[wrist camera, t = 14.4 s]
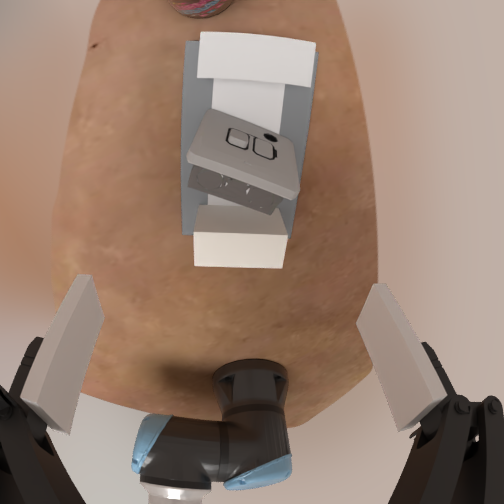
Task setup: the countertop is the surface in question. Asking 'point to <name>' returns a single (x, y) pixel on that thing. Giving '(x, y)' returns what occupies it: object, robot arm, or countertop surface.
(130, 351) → the countertop surface
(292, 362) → the countertop surface
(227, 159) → the electrical switch
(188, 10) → the supplement container
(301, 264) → the countertop surface
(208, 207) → the rail plate
